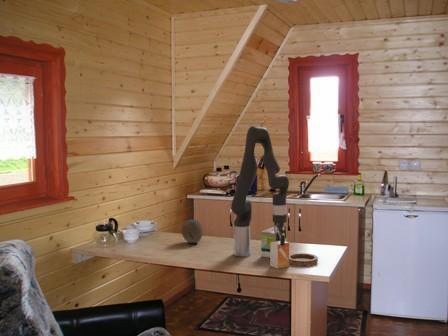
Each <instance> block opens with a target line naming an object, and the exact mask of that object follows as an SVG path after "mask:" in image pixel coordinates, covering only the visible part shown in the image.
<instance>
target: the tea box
mask: <svg viewBox="0 0 448 336" xmlns="http://www.w3.org/2000/svg"><path fill="white" fill-rule="evenodd" d="M260 235H261V237H260V241H261V242H260V249H261V250H260V257H262V258H267V259H268V258H270V242H275V241H276V235H275V232H274V226H272V227H270V228H267V229H264V230H262V231H261V234H260ZM282 236H283V234H282ZM285 241H286V242H288V228H286V238H285Z"/></svg>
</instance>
